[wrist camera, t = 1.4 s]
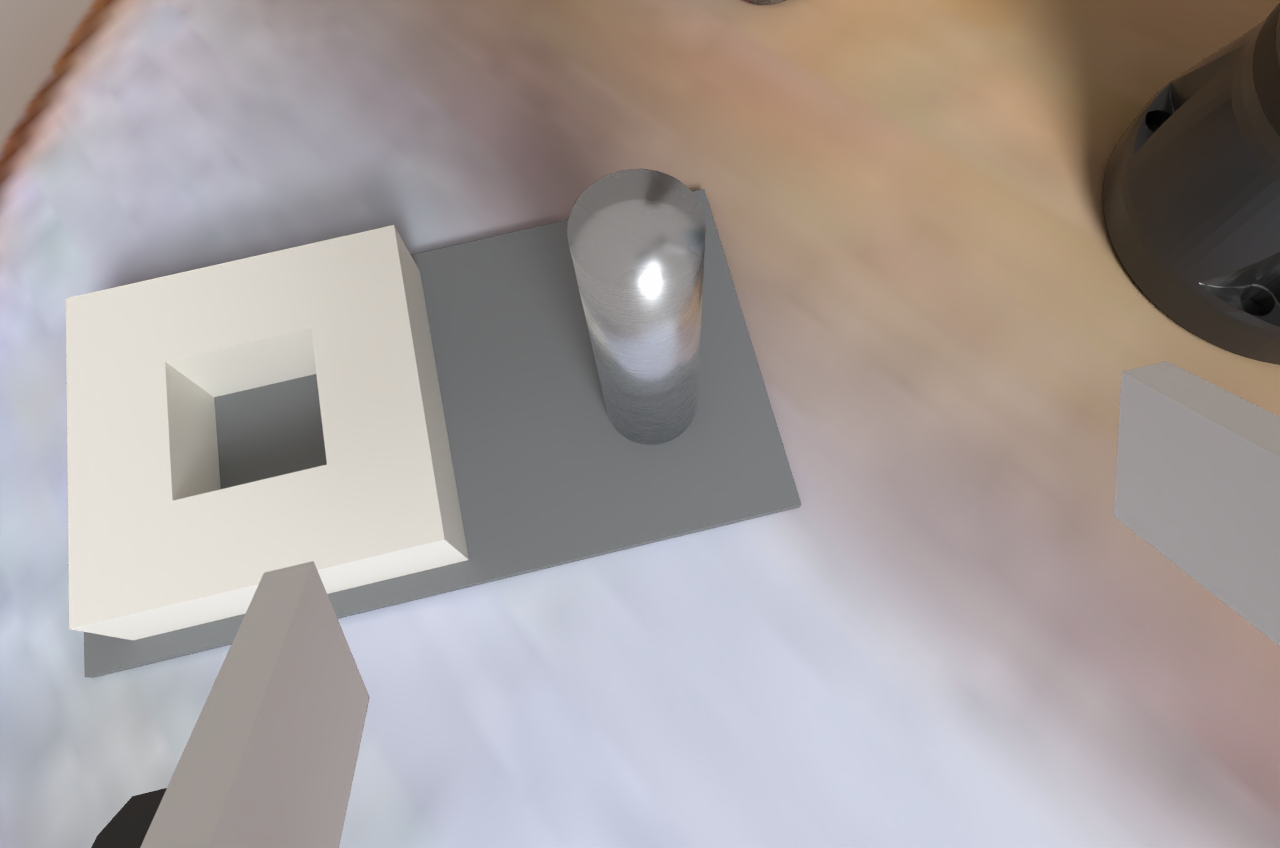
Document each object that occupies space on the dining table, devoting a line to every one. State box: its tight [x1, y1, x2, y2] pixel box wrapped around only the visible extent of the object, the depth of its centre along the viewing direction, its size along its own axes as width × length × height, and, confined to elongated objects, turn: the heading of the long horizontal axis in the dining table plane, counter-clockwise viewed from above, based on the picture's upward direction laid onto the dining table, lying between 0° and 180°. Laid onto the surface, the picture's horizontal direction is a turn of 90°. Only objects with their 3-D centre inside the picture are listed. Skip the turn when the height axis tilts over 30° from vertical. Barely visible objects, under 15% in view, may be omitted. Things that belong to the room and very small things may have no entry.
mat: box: [84, 189, 801, 678], centre depth 39 cm, size 30×16×1 cm, turn 103°
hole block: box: [66, 225, 469, 640], centre depth 37 cm, size 14×14×4 cm
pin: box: [567, 169, 706, 445], centre depth 32 cm, size 4×4×14 cm
